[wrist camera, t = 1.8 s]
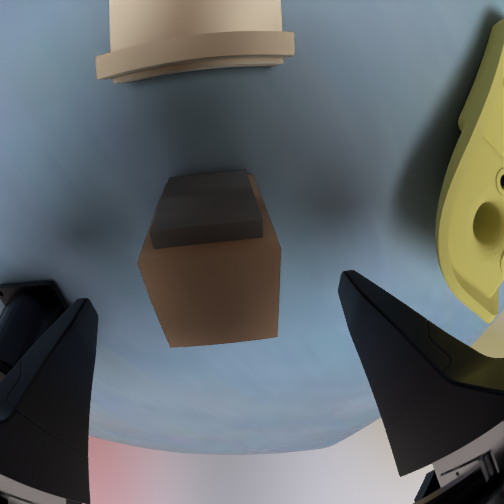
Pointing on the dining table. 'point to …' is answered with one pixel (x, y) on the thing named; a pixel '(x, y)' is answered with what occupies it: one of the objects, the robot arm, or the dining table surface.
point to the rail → (191, 37)
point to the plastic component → (476, 191)
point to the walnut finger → (212, 261)
